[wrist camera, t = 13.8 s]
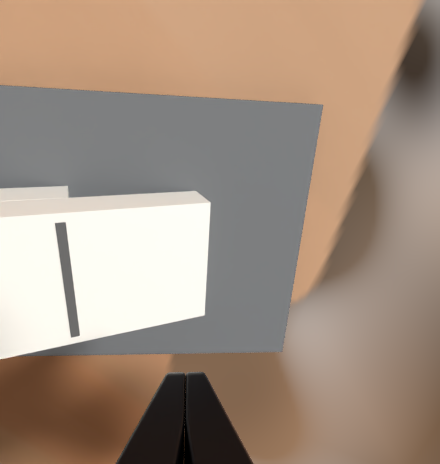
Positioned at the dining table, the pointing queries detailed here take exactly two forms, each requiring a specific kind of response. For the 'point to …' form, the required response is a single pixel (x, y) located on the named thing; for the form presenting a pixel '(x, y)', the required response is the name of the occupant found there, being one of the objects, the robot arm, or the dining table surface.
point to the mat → (179, 180)
